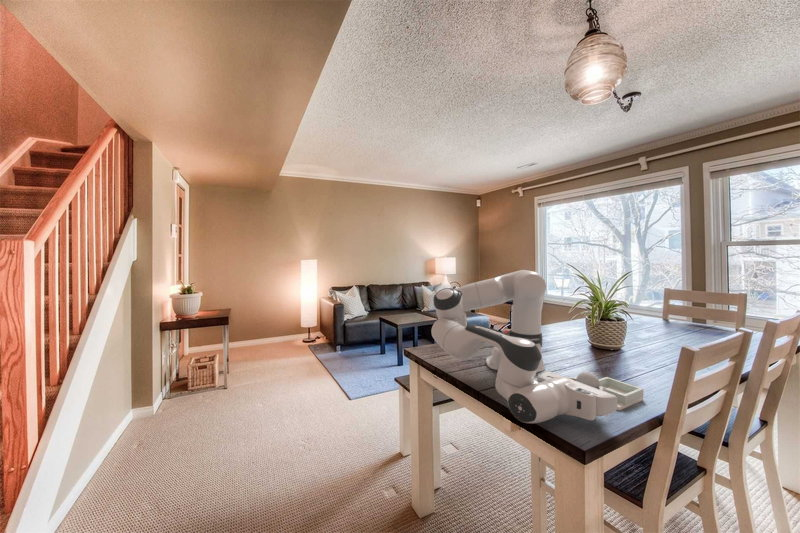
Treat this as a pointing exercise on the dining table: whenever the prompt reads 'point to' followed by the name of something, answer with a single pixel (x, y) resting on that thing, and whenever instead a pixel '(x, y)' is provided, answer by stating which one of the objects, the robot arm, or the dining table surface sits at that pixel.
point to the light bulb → (588, 379)
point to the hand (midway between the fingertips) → (589, 384)
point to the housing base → (622, 392)
